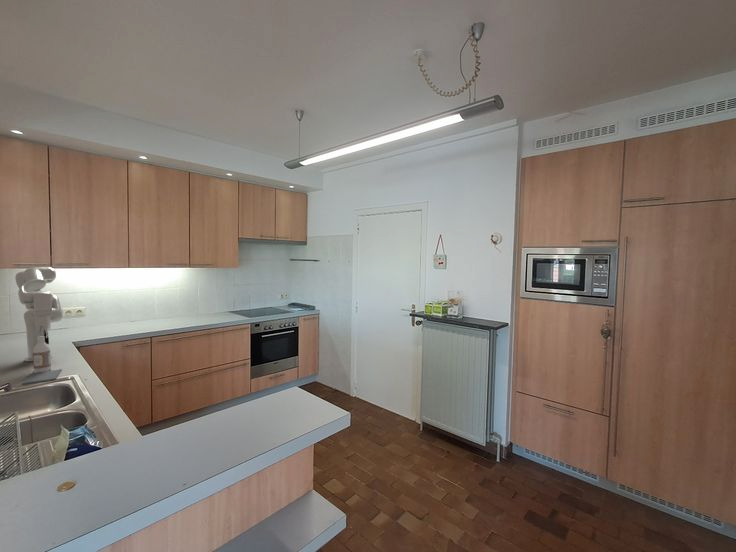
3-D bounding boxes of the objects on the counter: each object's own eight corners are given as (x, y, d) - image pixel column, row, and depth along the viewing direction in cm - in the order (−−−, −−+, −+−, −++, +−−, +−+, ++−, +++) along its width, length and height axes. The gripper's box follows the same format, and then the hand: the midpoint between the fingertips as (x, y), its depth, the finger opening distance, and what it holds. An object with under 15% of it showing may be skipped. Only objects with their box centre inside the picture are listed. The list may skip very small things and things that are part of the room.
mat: (30, 374, 182) (30, 373, 182) (61, 370, 189) (61, 369, 189) (21, 384, 168) (21, 383, 168) (55, 379, 175) (55, 378, 175)
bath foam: (30, 373, 184) (28, 337, 183) (39, 369, 191) (38, 335, 190) (45, 372, 186) (43, 337, 184) (54, 368, 192) (52, 334, 191)
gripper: (37, 312, 198) (38, 343, 198) (31, 315, 185) (32, 348, 186) (54, 311, 202) (56, 341, 203) (49, 314, 190) (51, 346, 191)
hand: (44, 344), depth 194 cm, fingers closed
